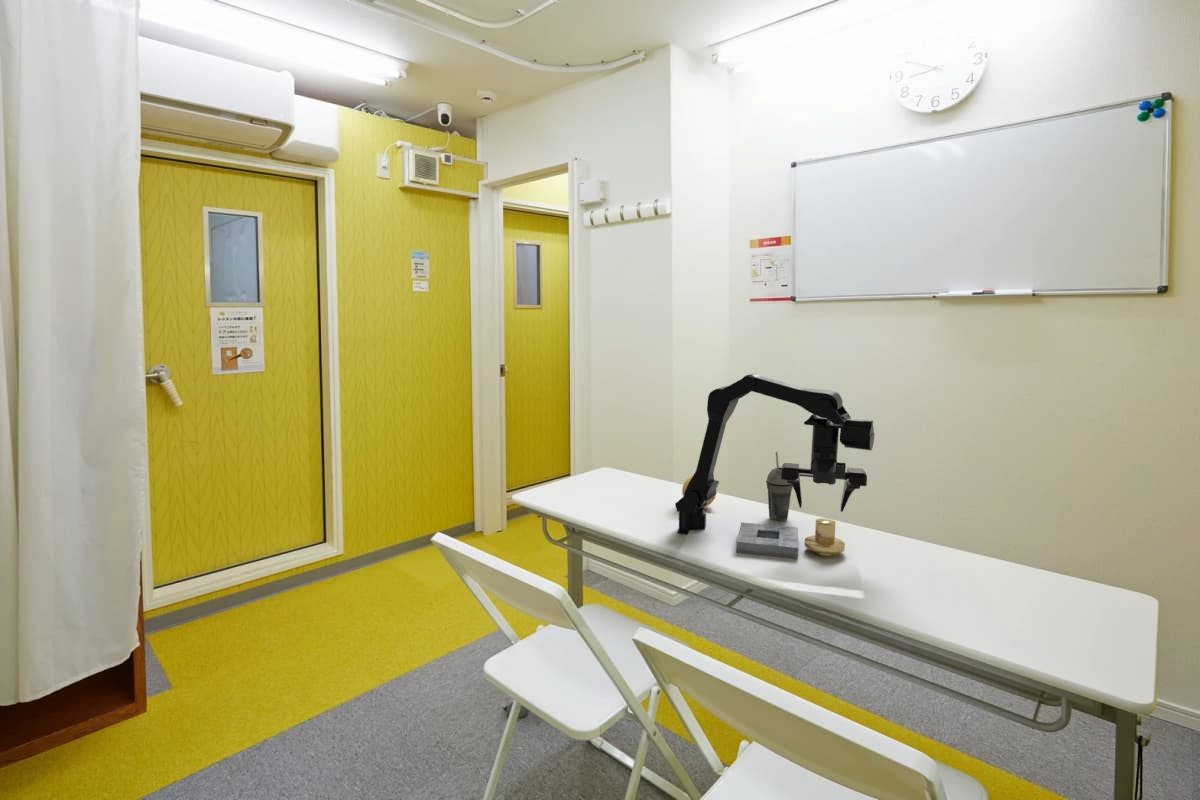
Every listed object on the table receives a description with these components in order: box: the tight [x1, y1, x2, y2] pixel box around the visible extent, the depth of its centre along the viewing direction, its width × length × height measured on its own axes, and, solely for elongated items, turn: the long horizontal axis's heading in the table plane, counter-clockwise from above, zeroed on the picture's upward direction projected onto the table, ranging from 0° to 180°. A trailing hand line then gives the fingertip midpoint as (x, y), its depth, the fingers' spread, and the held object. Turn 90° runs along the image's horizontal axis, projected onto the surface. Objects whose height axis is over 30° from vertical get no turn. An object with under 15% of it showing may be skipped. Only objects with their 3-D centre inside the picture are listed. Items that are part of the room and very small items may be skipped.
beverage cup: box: [766, 451, 793, 522], centre depth 176 cm, size 7×7×20 cm
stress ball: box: [681, 475, 716, 508], centre depth 190 cm, size 10×10×10 cm
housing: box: [735, 522, 799, 560], centre depth 158 cm, size 14×14×4 cm
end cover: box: [804, 518, 846, 557], centre depth 153 cm, size 9×9×9 cm
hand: (820, 509), depth 152 cm, fingers open, 9 cm apart
